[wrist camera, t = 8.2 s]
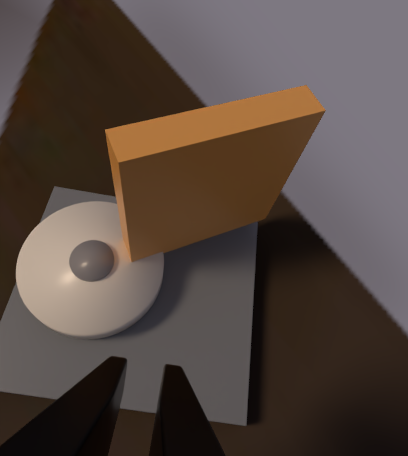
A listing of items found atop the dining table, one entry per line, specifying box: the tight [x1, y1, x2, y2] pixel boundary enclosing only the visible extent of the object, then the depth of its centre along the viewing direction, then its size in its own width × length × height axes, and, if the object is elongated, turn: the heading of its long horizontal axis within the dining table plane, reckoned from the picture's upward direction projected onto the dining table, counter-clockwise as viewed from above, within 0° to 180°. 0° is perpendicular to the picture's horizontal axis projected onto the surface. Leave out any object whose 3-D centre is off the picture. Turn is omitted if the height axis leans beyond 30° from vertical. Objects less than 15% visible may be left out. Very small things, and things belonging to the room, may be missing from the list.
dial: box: [16, 85, 325, 339], centre depth 18 cm, size 15×8×10 cm, turn 114°
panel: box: [0, 186, 258, 426], centre depth 21 cm, size 12×14×4 cm
